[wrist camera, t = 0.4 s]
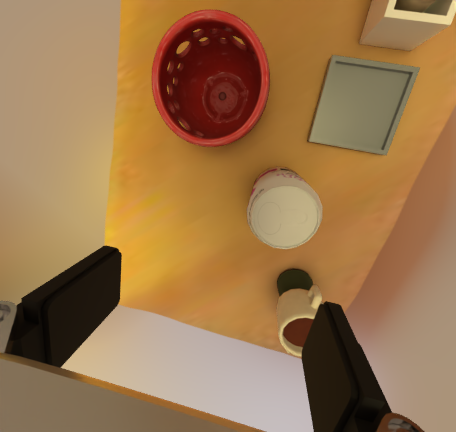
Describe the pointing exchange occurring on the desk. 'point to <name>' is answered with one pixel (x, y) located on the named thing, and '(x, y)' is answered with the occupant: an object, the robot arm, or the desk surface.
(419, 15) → the white open square box
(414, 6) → the dowel
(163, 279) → the desk surface
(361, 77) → the tray
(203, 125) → the plant pot
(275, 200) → the supplement can
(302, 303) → the character mug
